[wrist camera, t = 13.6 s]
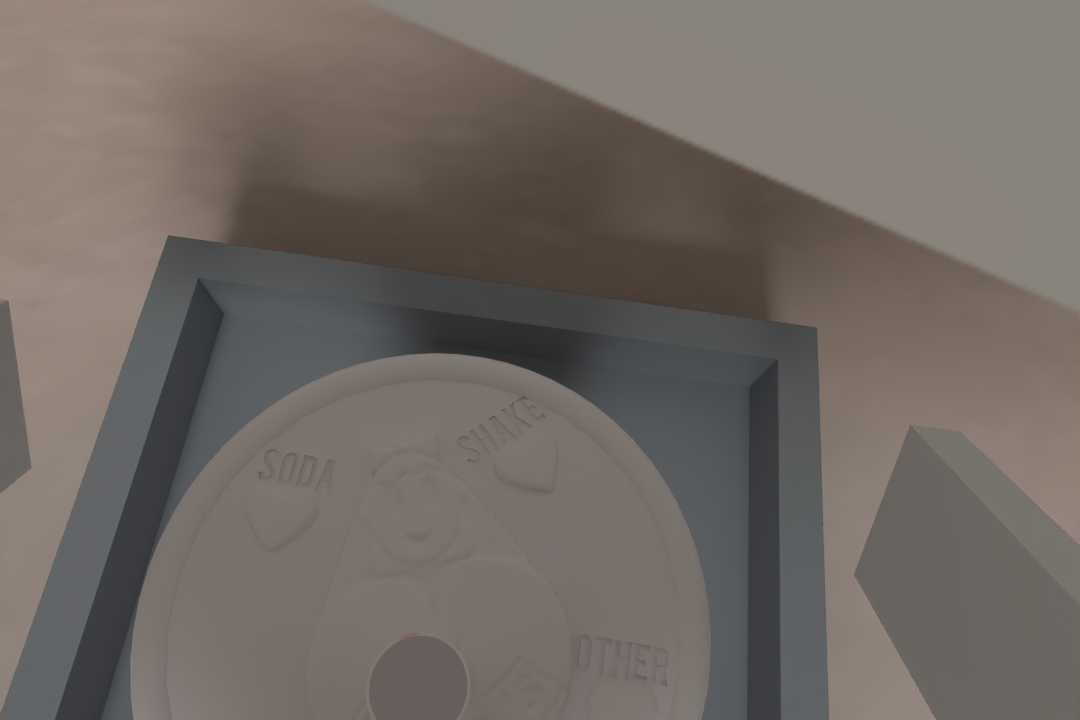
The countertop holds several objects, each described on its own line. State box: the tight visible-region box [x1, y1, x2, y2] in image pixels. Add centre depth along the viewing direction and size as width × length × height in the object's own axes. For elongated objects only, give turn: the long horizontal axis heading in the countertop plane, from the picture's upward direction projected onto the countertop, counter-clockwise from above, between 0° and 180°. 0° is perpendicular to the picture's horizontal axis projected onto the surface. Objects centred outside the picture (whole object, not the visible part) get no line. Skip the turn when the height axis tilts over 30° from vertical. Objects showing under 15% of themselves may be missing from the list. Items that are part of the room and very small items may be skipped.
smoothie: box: [130, 353, 711, 720], centre depth 11 cm, size 6×6×14 cm
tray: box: [0, 235, 829, 720], centre depth 17 cm, size 16×16×3 cm
